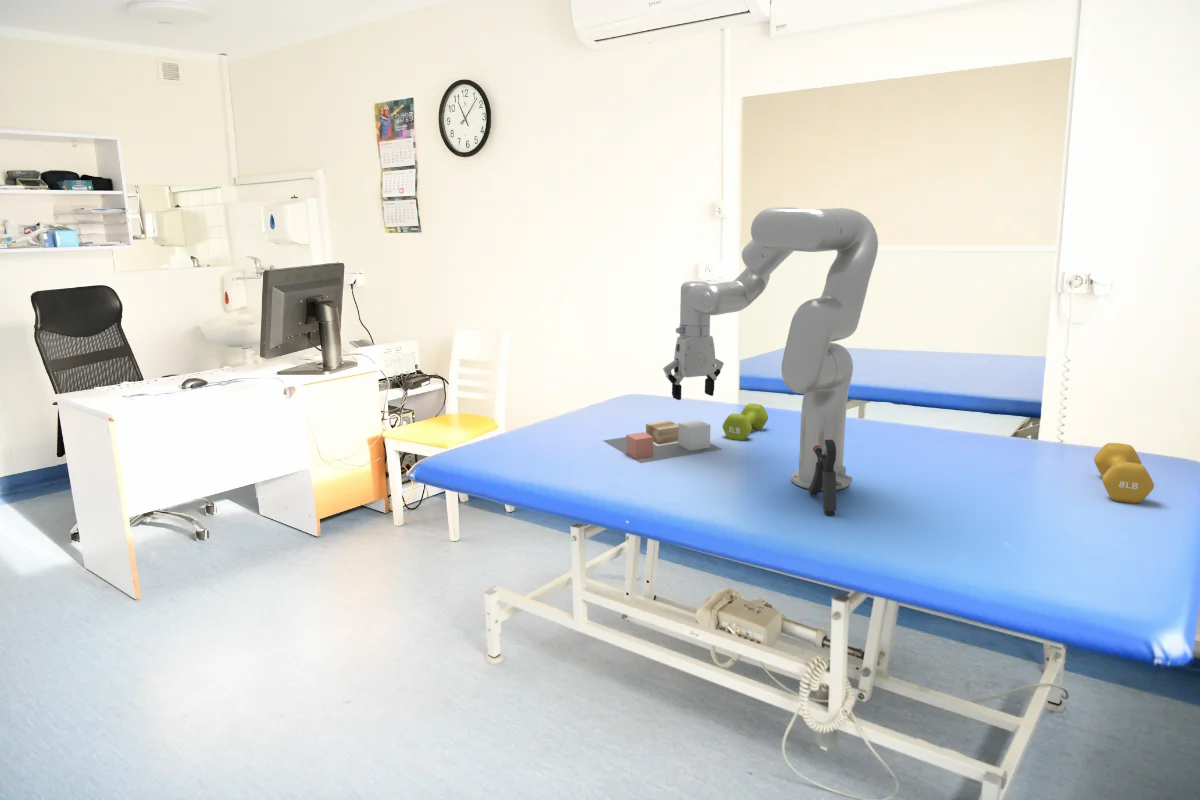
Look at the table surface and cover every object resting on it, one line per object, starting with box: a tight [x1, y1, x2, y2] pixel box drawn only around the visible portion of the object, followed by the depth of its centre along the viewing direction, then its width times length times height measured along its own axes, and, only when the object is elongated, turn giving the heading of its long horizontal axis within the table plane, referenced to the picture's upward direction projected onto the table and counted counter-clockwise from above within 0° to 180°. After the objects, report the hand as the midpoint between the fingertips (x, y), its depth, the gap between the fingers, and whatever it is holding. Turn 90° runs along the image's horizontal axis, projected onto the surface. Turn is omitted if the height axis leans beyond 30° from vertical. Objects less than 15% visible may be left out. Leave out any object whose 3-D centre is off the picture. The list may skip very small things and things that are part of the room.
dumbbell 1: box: [721, 403, 769, 441], centre depth 213 cm, size 16×8×7 cm, turn 147°
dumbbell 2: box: [1093, 442, 1155, 504], centre depth 167 cm, size 19×9×8 cm, turn 153°
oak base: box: [645, 419, 678, 444], centre depth 209 cm, size 7×7×4 cm
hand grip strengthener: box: [808, 440, 837, 516], centre depth 160 cm, size 2×12×15 cm, turn 2°
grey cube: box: [678, 419, 711, 451], centre depth 202 cm, size 6×6×6 cm
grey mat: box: [602, 436, 723, 464], centre depth 204 cm, size 22×24×1 cm
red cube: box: [625, 431, 653, 459], centre depth 196 cm, size 5×5×5 cm
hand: (693, 396), depth 200 cm, fingers open, 9 cm apart
